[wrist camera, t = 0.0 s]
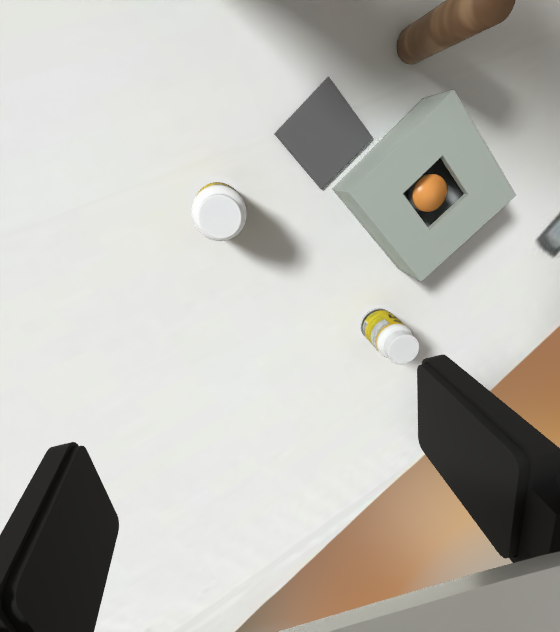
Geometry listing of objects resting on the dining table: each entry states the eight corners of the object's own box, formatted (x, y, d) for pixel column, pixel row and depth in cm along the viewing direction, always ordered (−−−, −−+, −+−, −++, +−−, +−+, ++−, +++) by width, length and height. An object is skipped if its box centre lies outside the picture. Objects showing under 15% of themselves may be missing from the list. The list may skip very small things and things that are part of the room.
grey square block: (332, 188, 45) (349, 192, 40) (422, 98, 43) (453, 89, 38) (398, 268, 50) (421, 281, 45) (481, 191, 48) (516, 195, 43)
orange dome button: (394, 190, 45) (406, 192, 42) (420, 165, 44) (434, 166, 41) (413, 215, 46) (425, 219, 43) (438, 191, 46) (453, 193, 43)
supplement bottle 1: (238, 179, 43) (246, 184, 34) (244, 227, 45) (253, 244, 36) (190, 183, 42) (185, 189, 33) (198, 232, 44) (195, 250, 35)
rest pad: (274, 133, 42) (274, 133, 41) (327, 77, 41) (328, 76, 40) (320, 188, 45) (321, 188, 45) (371, 137, 44) (372, 137, 43)
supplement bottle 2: (398, 322, 54) (430, 349, 46) (373, 344, 54) (400, 375, 47) (378, 300, 52) (408, 324, 44) (353, 324, 52) (377, 351, 45)
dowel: (390, 43, 41) (466, -6, 29) (415, 17, 40) (503, -44, 28) (408, 71, 42) (487, 36, 30) (433, 46, 41) (523, 0, 29)
